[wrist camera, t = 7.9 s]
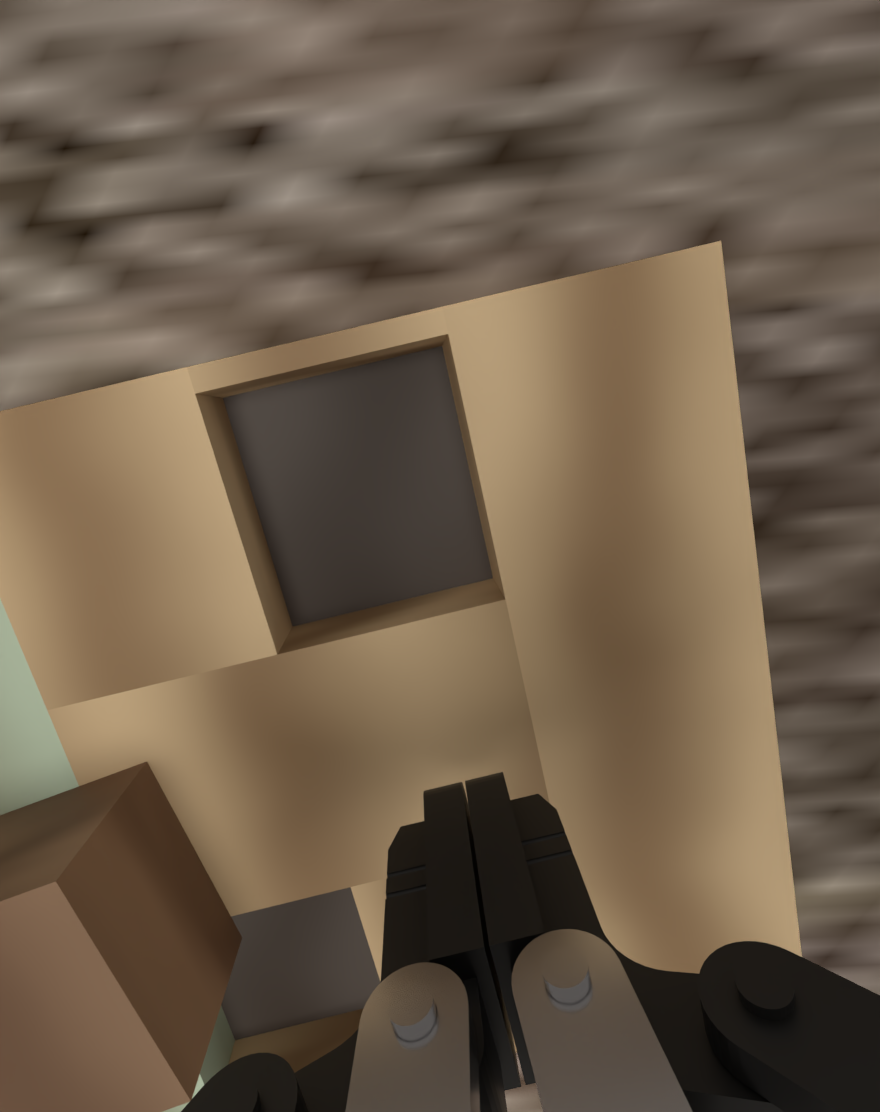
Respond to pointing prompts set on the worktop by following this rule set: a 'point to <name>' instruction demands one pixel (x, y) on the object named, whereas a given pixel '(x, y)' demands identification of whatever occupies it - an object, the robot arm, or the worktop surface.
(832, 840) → the worktop surface
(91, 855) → the block
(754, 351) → the worktop surface
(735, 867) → the board
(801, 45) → the worktop surface
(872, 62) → the worktop surface
